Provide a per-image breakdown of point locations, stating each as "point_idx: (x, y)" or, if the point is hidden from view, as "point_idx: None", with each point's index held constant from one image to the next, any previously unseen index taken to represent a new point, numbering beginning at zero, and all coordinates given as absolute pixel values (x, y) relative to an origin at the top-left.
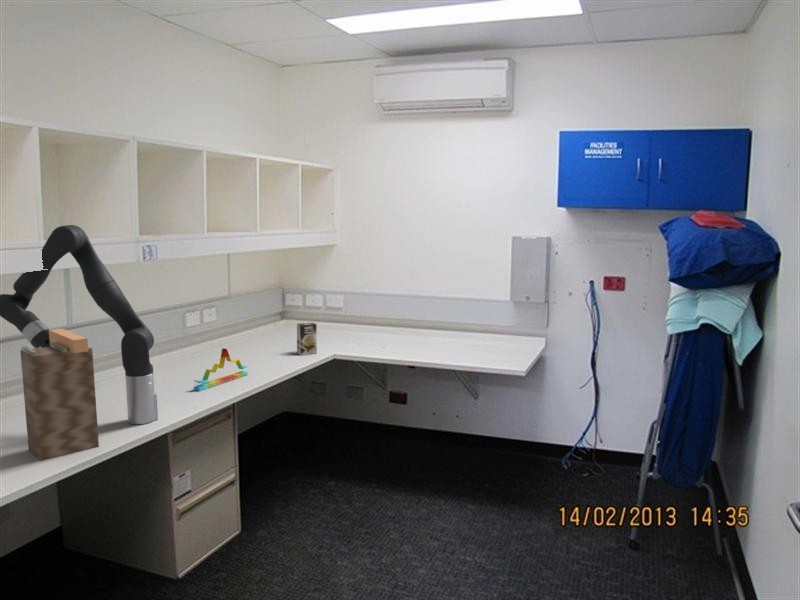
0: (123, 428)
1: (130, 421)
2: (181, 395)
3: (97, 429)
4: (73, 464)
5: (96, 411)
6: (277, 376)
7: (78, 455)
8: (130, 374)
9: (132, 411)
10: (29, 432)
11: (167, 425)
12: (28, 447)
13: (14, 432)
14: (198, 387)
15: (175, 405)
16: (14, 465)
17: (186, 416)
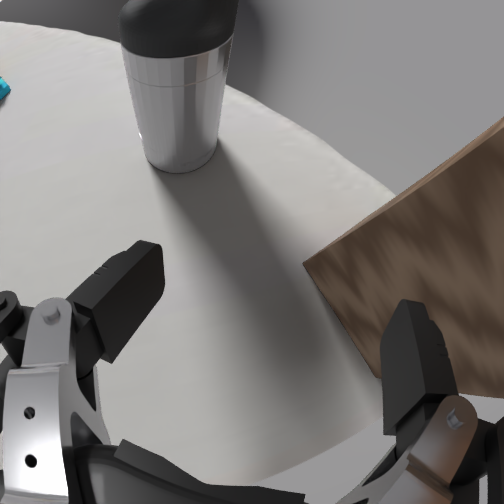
0: (240, 177)
1: (204, 160)
2: (14, 111)
3: (393, 198)
4: None
5: (424, 176)
6: (17, 25)
7: None
8: (228, 34)
9: (214, 134)
10: None
11: (238, 93)
12: (380, 377)
13: (219, 478)
14: (5, 86)
15: (79, 100)
16: None
17: None
